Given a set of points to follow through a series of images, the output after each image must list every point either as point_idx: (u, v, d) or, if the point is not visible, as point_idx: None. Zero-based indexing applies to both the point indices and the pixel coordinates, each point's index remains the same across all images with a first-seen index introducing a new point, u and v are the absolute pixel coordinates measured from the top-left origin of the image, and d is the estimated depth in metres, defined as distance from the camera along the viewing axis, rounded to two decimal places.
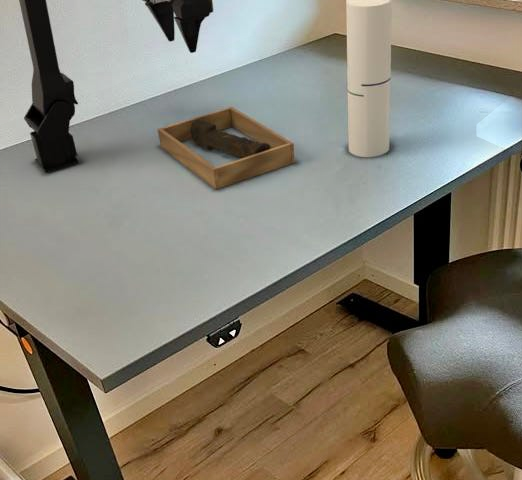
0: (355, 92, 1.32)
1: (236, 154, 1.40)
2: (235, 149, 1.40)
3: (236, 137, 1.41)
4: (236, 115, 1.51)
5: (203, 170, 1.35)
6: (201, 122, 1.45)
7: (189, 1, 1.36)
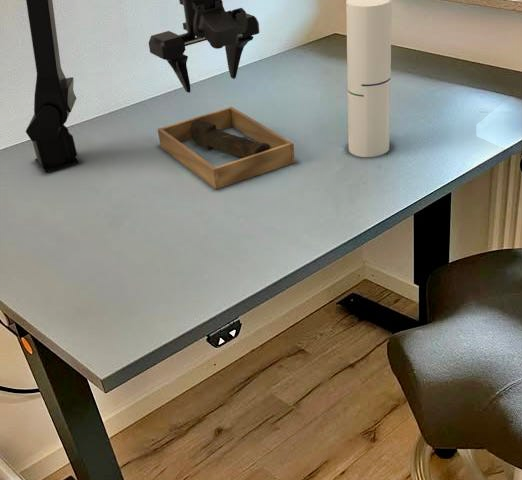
0: (355, 92, 1.32)
1: (236, 154, 1.40)
2: (235, 149, 1.40)
3: (236, 137, 1.41)
4: (236, 115, 1.51)
5: (203, 170, 1.35)
6: (201, 122, 1.45)
7: (152, 38, 1.31)
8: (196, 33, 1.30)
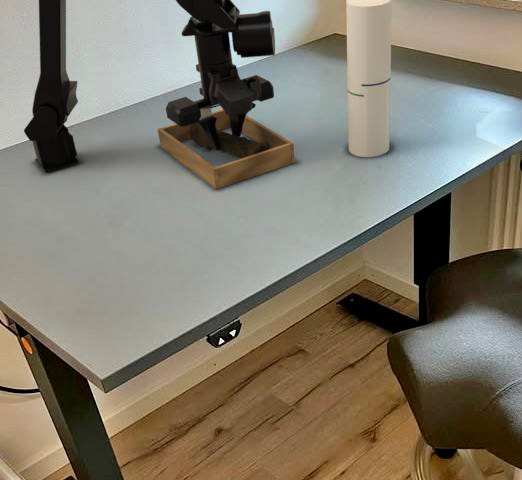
0: (355, 92, 1.32)
1: (236, 154, 1.40)
2: (234, 149, 1.40)
3: (235, 137, 1.41)
4: None
5: (203, 170, 1.35)
6: None
7: (169, 104, 1.35)
8: (212, 100, 1.34)
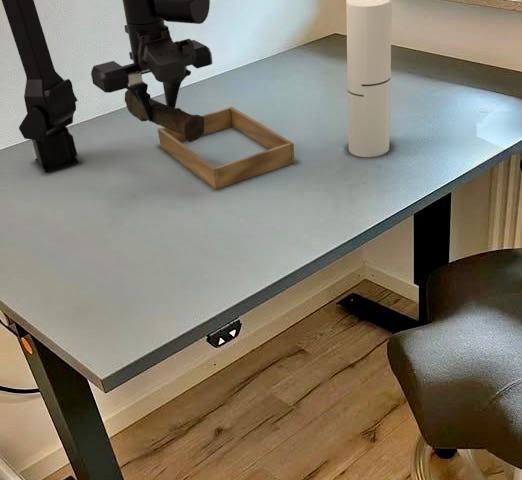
0: (355, 92, 1.32)
1: (168, 127, 1.28)
2: (167, 121, 1.27)
3: (169, 108, 1.28)
4: (236, 115, 1.51)
5: (203, 170, 1.35)
6: None
7: (94, 68, 1.22)
8: (141, 64, 1.21)
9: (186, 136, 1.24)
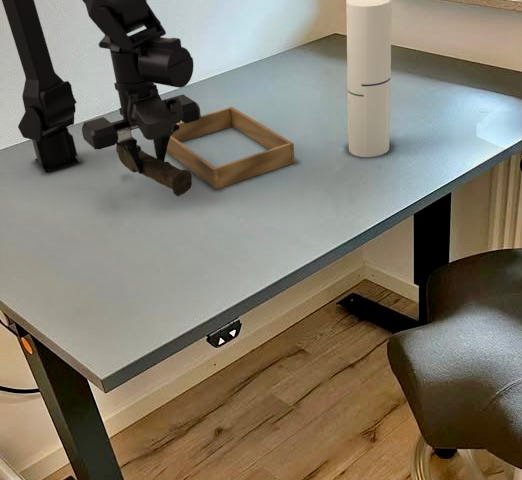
0: (355, 92, 1.32)
1: (157, 180, 1.30)
2: (155, 175, 1.30)
3: (158, 161, 1.31)
4: (236, 115, 1.51)
5: (203, 170, 1.35)
6: None
7: (85, 125, 1.25)
8: (130, 122, 1.24)
9: (174, 190, 1.27)
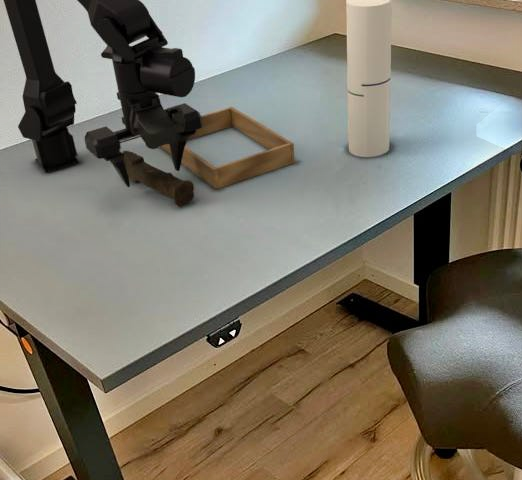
0: (355, 92, 1.32)
1: (159, 190, 1.32)
2: (158, 185, 1.31)
3: (161, 172, 1.32)
4: (236, 115, 1.51)
5: (203, 170, 1.35)
6: (129, 154, 1.37)
7: (87, 135, 1.26)
8: (132, 131, 1.25)
9: (176, 201, 1.28)
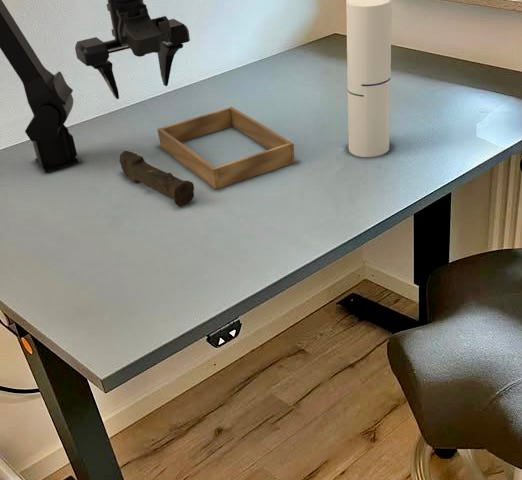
0: (355, 92, 1.32)
1: (159, 190, 1.32)
2: (158, 185, 1.31)
3: (161, 172, 1.32)
4: (236, 115, 1.51)
5: (203, 170, 1.35)
6: (129, 154, 1.37)
7: (78, 44, 1.31)
8: (120, 40, 1.30)
9: (176, 201, 1.28)
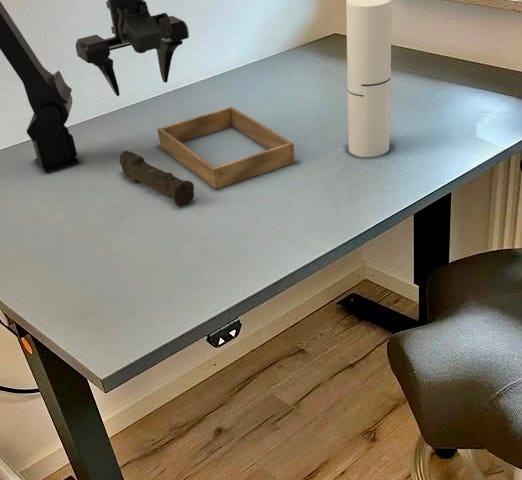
0: (355, 92, 1.32)
1: (159, 190, 1.32)
2: (158, 185, 1.31)
3: (161, 172, 1.32)
4: (236, 115, 1.51)
5: (203, 170, 1.35)
6: (129, 154, 1.37)
7: (78, 41, 1.32)
8: (121, 37, 1.31)
9: (176, 201, 1.28)
